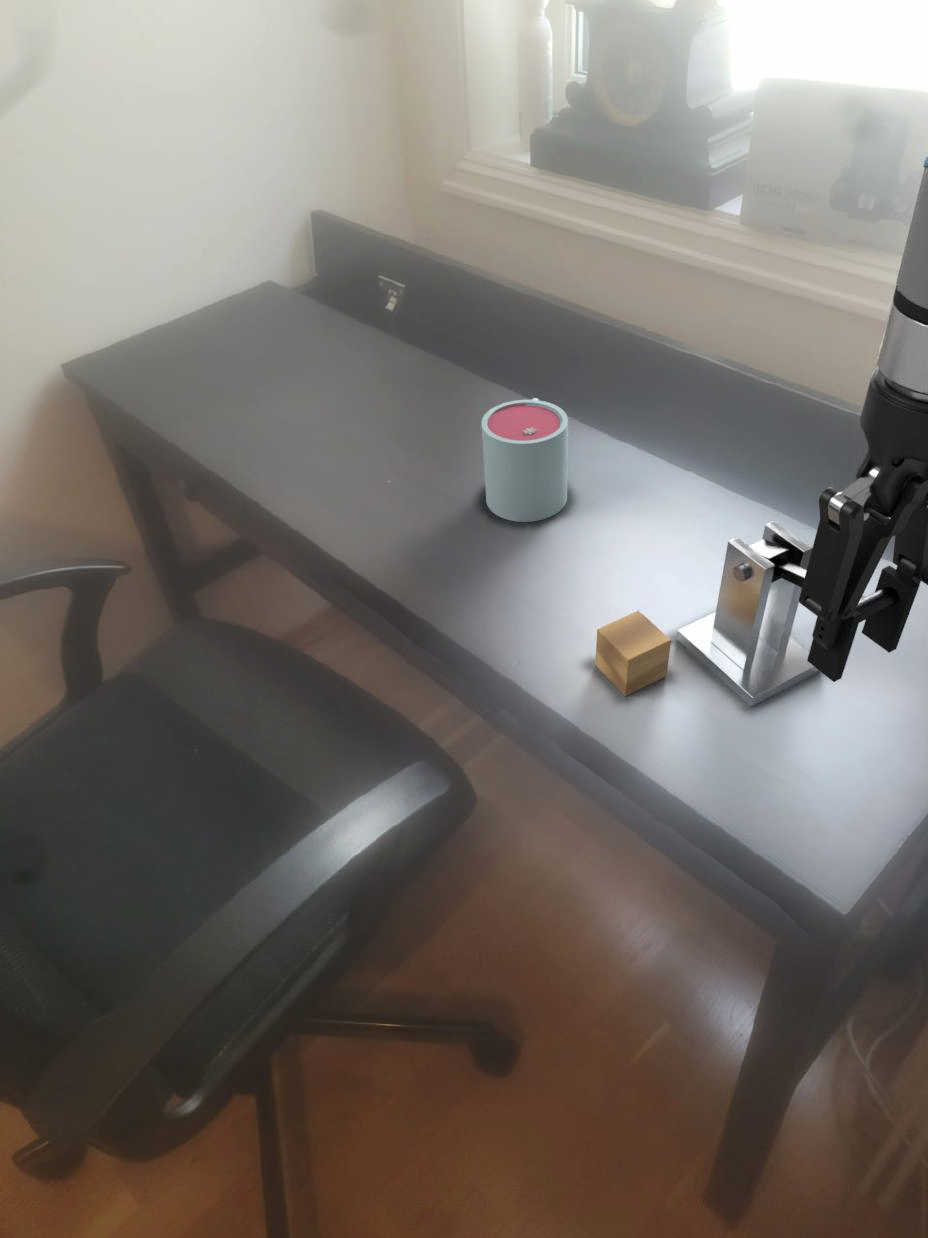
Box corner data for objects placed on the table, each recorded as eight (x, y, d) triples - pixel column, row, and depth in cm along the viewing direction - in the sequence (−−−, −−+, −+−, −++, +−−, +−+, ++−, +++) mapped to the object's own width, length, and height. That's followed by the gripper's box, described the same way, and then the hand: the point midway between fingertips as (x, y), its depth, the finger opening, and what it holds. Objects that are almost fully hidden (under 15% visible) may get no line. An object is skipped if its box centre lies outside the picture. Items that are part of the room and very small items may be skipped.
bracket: (820, 671, 77) (854, 559, 68) (750, 707, 74) (777, 596, 66) (742, 607, 83) (764, 498, 75) (676, 639, 81) (690, 529, 72)
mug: (560, 524, 95) (561, 446, 88) (478, 518, 97) (473, 440, 90) (576, 457, 105) (578, 381, 98) (501, 452, 107) (498, 378, 100)
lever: (897, 612, 64) (900, 585, 63) (848, 638, 63) (850, 610, 61) (776, 557, 74) (777, 532, 73) (731, 578, 72) (730, 553, 71)
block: (666, 676, 78) (671, 639, 74) (625, 696, 76) (628, 660, 73) (635, 646, 81) (638, 609, 78) (594, 665, 79) (596, 629, 76)
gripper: (989, 314, 56) (896, 586, 72) (779, 395, 51) (727, 671, 66) (1101, 356, 51) (974, 638, 67) (882, 450, 46) (799, 735, 61)
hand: (851, 654), depth 67 cm, fingers closed on lever, 5 cm apart
